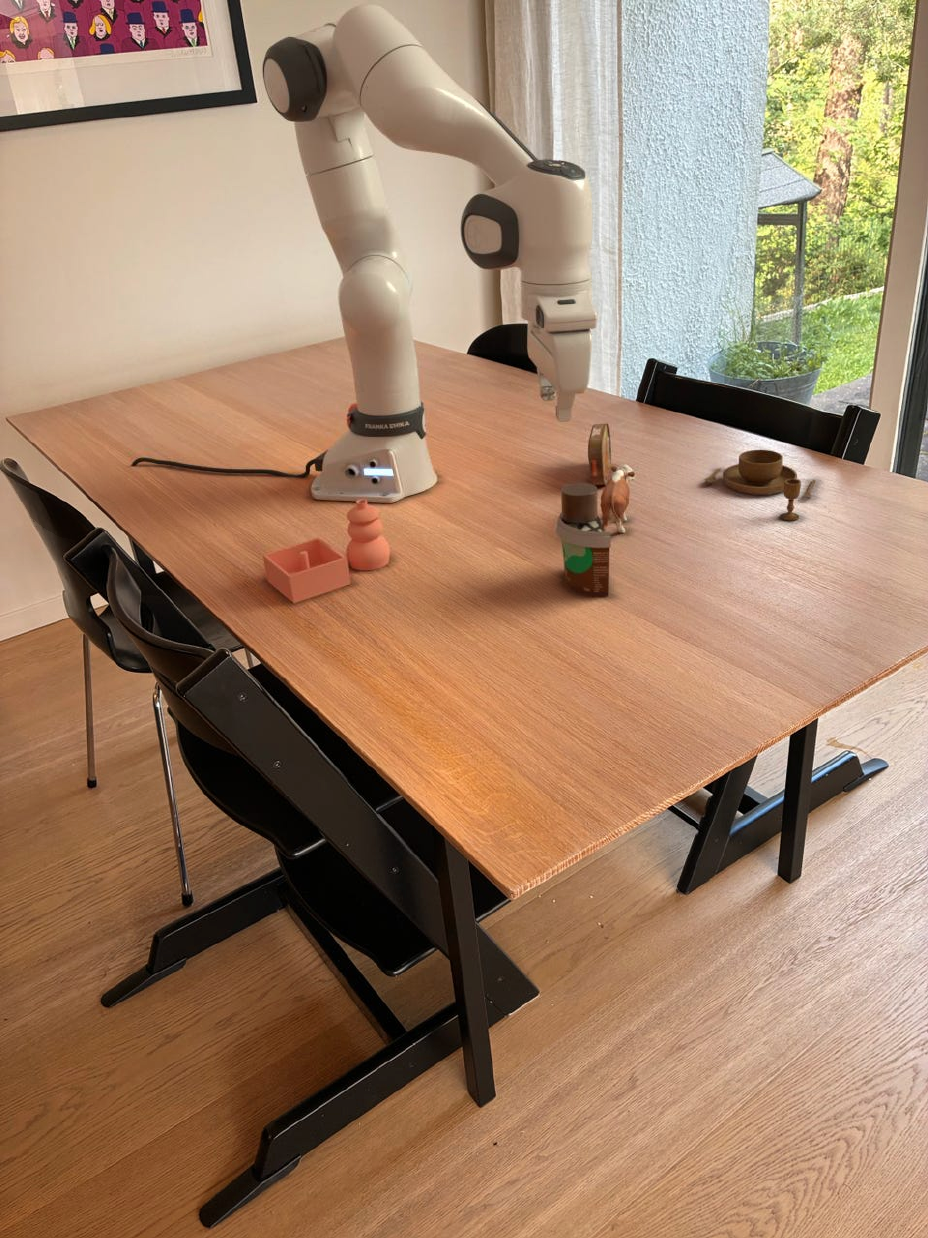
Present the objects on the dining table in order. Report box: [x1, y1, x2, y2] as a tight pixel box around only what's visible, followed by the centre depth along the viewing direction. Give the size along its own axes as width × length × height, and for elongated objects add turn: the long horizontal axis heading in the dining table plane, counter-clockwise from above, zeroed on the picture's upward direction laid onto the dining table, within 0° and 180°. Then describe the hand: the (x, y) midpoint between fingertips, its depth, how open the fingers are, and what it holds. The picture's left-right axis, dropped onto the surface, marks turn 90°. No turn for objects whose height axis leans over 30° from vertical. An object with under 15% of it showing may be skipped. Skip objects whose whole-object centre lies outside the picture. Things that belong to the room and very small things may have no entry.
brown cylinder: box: [560, 482, 599, 524], centre depth 134 cm, size 5×5×4 cm
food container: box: [555, 511, 612, 597], centre depth 137 cm, size 12×6×10 cm, turn 5°
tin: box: [587, 422, 612, 486], centre depth 173 cm, size 15×3×8 cm, turn 168°
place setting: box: [704, 449, 816, 522], centre depth 162 cm, size 18×20×6 cm
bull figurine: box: [600, 464, 636, 534], centre depth 154 cm, size 4×13×8 cm, turn 161°
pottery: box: [262, 499, 391, 604], centre depth 146 cm, size 18×10×10 cm, turn 123°
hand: (555, 409), depth 132 cm, fingers open, 8 cm apart
